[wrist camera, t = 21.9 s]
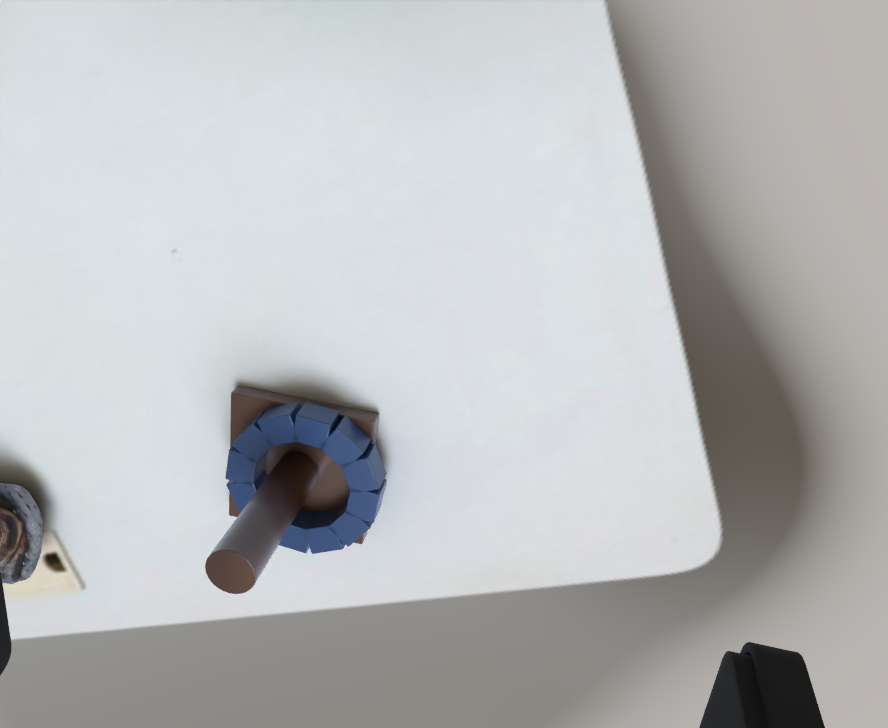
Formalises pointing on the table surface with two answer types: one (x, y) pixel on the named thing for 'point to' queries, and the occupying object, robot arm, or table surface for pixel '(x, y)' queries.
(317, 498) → the stand
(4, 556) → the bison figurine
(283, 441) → the ring
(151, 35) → the table surface
